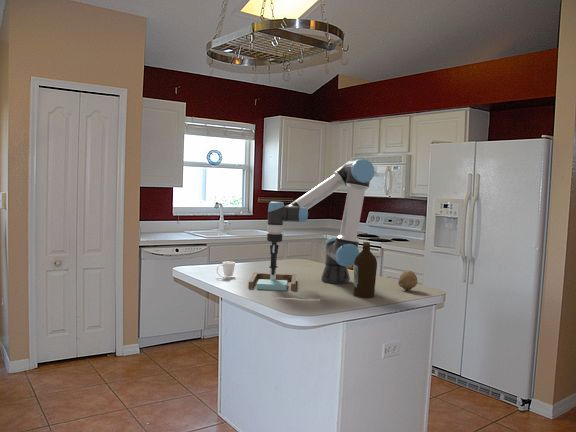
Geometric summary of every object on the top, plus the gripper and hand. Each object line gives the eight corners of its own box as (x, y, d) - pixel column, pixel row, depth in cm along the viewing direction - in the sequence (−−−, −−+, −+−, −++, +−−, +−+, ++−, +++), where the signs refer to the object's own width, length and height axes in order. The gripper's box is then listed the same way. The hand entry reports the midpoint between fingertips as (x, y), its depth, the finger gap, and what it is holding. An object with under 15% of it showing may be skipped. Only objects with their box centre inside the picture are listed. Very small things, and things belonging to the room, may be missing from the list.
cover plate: (287, 285, 253) (287, 280, 252) (286, 290, 241) (286, 285, 241) (258, 284, 253) (259, 279, 253) (256, 289, 241) (256, 283, 241)
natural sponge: (421, 291, 254) (422, 271, 254) (407, 293, 250) (408, 272, 249) (408, 288, 262) (409, 268, 261) (395, 289, 258) (396, 269, 257)
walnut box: (295, 282, 266) (296, 274, 266) (295, 292, 241) (295, 283, 241) (253, 280, 267) (253, 272, 267) (248, 290, 242) (248, 281, 242)
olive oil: (373, 293, 245) (376, 241, 243) (377, 298, 234) (380, 244, 233) (351, 292, 245) (353, 240, 243) (353, 297, 234) (356, 243, 233)
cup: (236, 278, 270) (237, 263, 270) (218, 279, 266) (219, 263, 266) (232, 276, 277) (233, 261, 276) (214, 276, 272) (215, 261, 272)
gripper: (268, 231, 259) (266, 278, 260) (266, 234, 246) (264, 283, 247) (283, 232, 258) (281, 279, 260) (281, 235, 245) (279, 284, 247)
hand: (272, 281), depth 253 cm, fingers closed
